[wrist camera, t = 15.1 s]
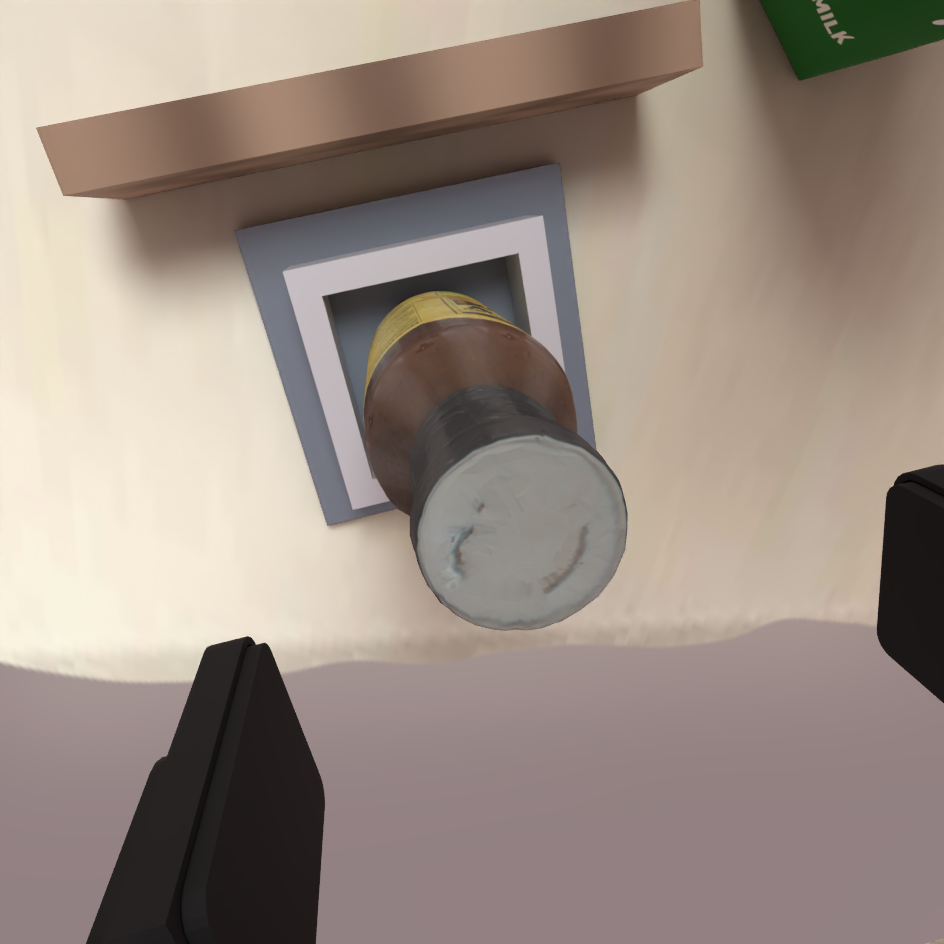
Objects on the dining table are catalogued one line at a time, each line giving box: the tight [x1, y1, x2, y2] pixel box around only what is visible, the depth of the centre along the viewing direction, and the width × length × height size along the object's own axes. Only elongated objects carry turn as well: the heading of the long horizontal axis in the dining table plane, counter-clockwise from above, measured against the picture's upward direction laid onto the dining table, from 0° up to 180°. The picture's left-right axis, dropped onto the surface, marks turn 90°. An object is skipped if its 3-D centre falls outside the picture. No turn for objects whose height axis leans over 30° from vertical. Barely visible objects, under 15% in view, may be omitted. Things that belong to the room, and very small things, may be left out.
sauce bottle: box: [363, 291, 627, 630], centre depth 21 cm, size 6×6×20 cm
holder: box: [235, 163, 596, 526], centre depth 29 cm, size 14×14×4 cm
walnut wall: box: [36, 0, 703, 199], centre depth 25 cm, size 22×2×6 cm, turn 101°
